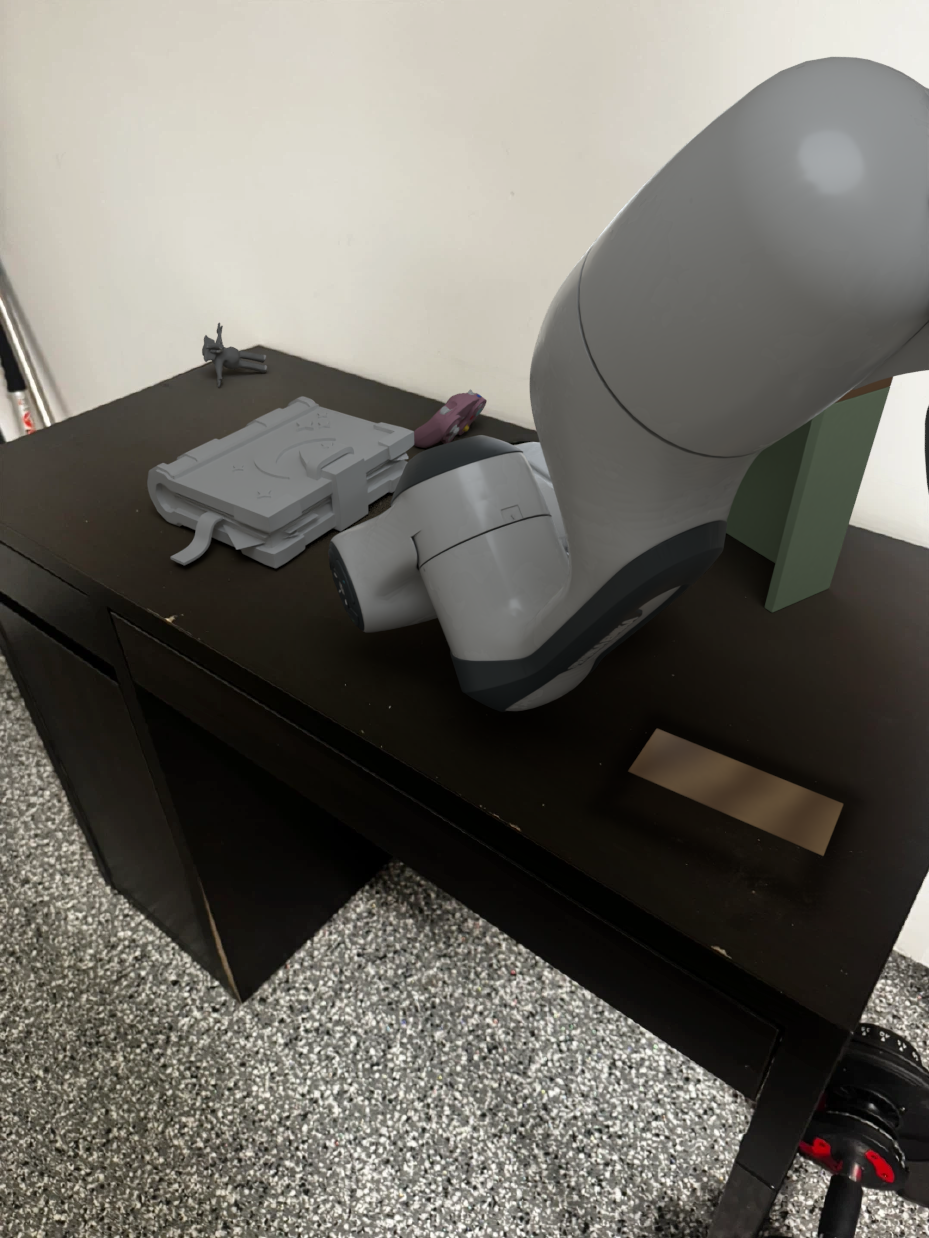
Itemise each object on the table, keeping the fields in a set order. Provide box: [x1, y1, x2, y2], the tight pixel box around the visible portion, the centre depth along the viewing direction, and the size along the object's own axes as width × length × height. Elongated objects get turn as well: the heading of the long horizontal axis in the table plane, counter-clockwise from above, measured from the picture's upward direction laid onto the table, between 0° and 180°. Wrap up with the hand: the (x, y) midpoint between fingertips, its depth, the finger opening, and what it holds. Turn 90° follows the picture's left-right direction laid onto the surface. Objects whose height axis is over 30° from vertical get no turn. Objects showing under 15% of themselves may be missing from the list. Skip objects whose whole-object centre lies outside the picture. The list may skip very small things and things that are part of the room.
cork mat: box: [627, 728, 844, 857], centre depth 62 cm, size 14×10×1 cm
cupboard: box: [726, 376, 894, 614], centre depth 82 cm, size 8×18×21 cm, turn 31°
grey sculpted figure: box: [201, 322, 268, 389], centre depth 125 cm, size 10×6×9 cm
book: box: [146, 395, 415, 569], centre depth 93 cm, size 19×28×8 cm
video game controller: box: [413, 388, 487, 449], centre depth 108 cm, size 10×5×7 cm, turn 149°
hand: (653, 488), depth 77 cm, fingers closed on syrup box, 6 cm apart
